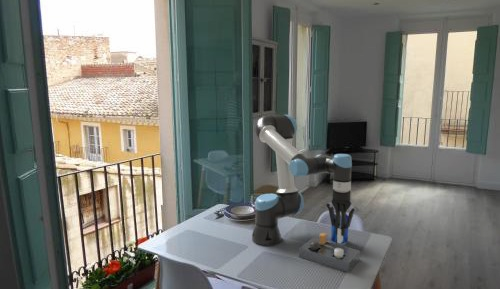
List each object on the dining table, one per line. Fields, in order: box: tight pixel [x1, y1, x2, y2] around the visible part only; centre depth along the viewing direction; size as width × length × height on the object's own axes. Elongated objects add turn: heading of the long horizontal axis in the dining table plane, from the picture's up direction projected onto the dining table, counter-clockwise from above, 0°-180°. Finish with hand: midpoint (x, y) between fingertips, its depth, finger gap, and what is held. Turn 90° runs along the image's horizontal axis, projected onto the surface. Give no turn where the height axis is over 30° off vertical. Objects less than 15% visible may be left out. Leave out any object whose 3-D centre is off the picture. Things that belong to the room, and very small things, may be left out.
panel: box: [298, 237, 361, 274], centre depth 164 cm, size 24×14×5 cm, turn 54°
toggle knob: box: [318, 232, 328, 244], centre depth 169 cm, size 2×3×5 cm
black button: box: [310, 241, 319, 252], centre depth 164 cm, size 4×4×4 cm
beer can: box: [330, 210, 349, 246], centre depth 180 cm, size 8×8×16 cm
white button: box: [334, 248, 344, 259], centre depth 157 cm, size 4×4×4 cm
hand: (340, 241), depth 156 cm, fingers closed
